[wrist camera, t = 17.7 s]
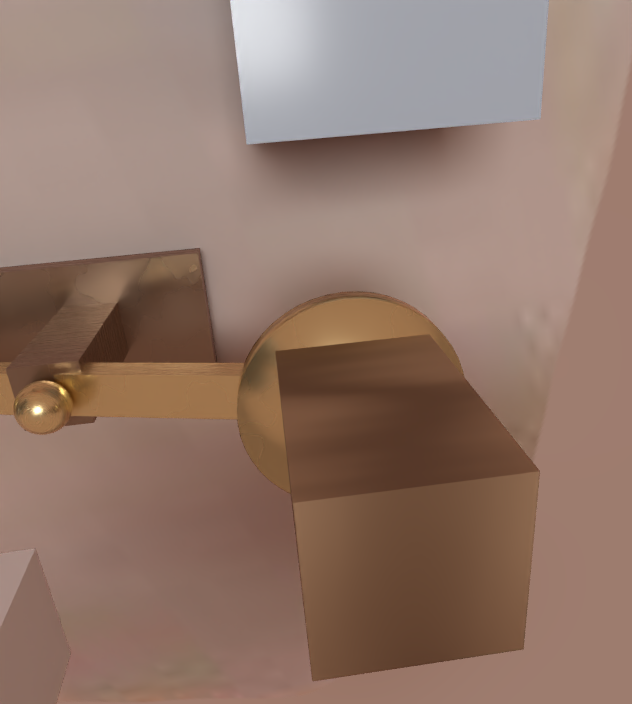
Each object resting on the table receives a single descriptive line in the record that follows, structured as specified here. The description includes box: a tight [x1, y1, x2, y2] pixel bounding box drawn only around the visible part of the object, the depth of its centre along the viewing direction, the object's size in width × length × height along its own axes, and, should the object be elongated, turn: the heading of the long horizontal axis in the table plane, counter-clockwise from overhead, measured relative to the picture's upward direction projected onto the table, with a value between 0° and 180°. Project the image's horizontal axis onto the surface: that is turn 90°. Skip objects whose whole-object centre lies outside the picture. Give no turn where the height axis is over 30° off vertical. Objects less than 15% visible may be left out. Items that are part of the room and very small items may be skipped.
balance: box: [0, 248, 464, 494], centre depth 22 cm, size 27×7×11 cm, turn 95°
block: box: [275, 334, 540, 681], centre depth 15 cm, size 4×4×7 cm
